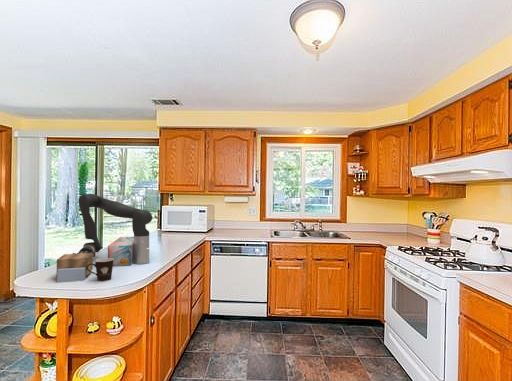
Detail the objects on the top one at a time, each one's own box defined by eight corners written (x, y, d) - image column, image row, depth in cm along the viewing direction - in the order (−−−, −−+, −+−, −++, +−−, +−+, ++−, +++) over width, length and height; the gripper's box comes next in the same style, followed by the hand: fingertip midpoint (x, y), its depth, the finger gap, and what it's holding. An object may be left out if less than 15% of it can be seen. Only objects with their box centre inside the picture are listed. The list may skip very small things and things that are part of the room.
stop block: (85, 278, 163) (85, 267, 163) (84, 280, 160) (84, 268, 160) (58, 280, 159) (58, 268, 159) (57, 282, 157) (57, 270, 157)
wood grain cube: (92, 268, 177) (92, 253, 177) (87, 275, 164) (87, 258, 164) (64, 270, 173) (64, 254, 173) (56, 277, 160) (56, 259, 160)
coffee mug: (116, 277, 167) (116, 258, 167) (109, 281, 158) (109, 261, 158) (93, 277, 166) (94, 258, 166) (85, 281, 158) (85, 261, 158)
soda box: (131, 266, 192) (131, 244, 192) (106, 267, 189) (107, 245, 189) (139, 253, 232) (139, 235, 232) (119, 253, 228) (119, 236, 228)
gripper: (75, 246, 193) (67, 251, 177) (98, 245, 197) (93, 250, 181) (74, 258, 193) (67, 265, 177) (98, 257, 197) (93, 263, 181)
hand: (80, 257), depth 179 cm, fingers closed
